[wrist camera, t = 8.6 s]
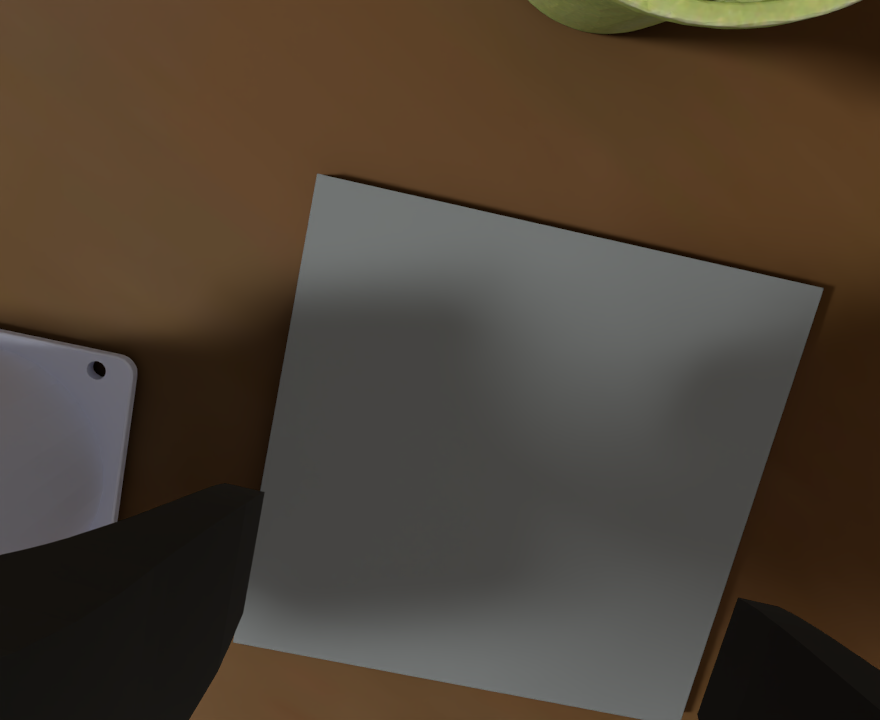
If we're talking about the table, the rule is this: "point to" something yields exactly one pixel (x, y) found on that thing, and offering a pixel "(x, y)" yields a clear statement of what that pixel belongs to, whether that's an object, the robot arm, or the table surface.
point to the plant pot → (682, 13)
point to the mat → (513, 451)
